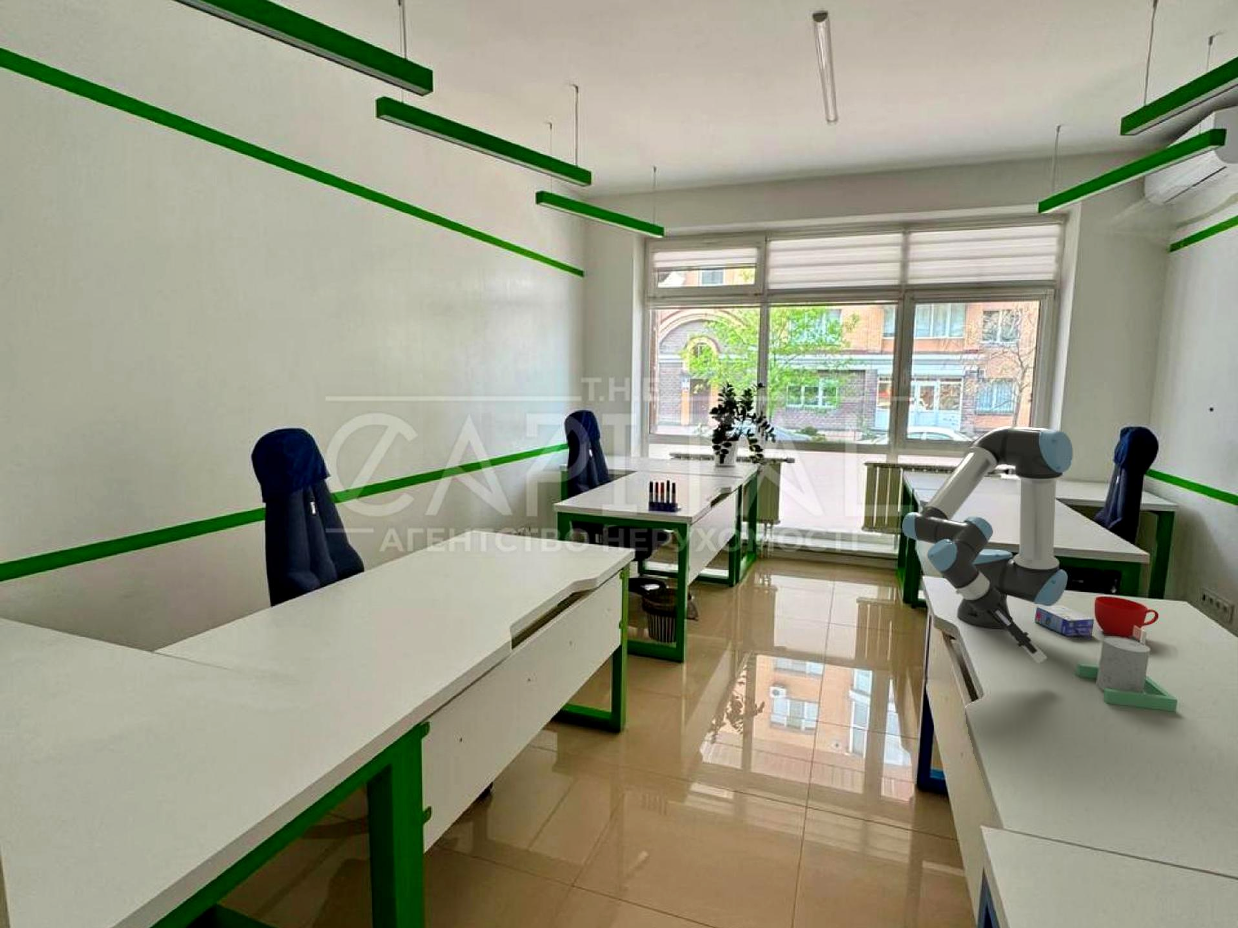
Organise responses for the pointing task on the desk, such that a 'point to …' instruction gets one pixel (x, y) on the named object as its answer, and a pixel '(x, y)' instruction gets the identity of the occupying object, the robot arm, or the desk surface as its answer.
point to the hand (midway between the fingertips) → (1041, 659)
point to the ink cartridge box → (1064, 620)
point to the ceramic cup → (1120, 615)
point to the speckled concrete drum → (1122, 664)
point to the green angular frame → (1152, 699)
